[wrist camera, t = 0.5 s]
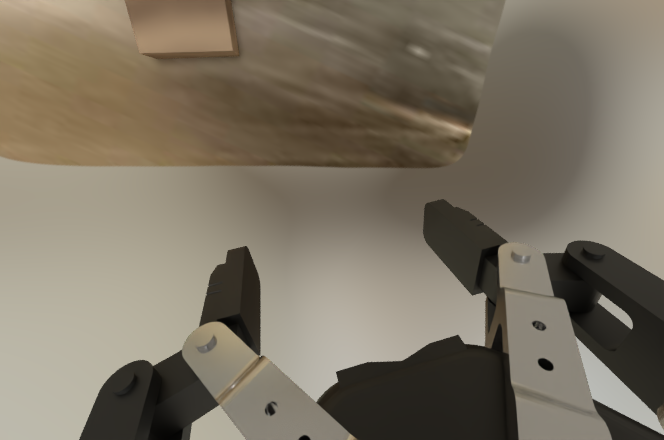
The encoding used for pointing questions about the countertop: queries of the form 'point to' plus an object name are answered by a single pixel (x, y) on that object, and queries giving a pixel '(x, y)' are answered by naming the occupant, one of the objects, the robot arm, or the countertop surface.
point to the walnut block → (183, 28)
